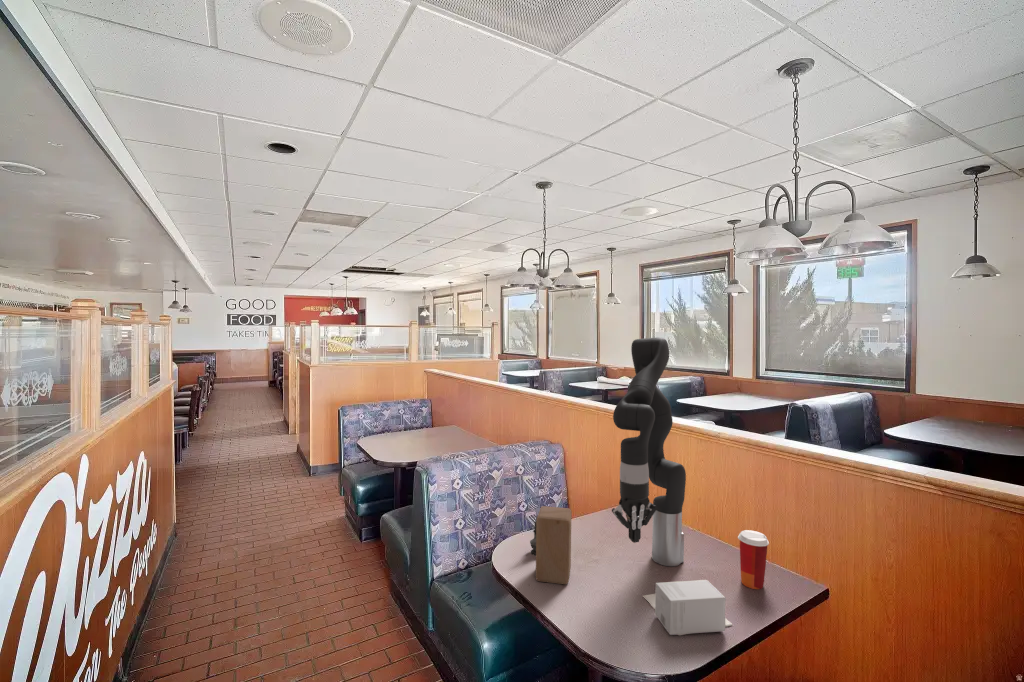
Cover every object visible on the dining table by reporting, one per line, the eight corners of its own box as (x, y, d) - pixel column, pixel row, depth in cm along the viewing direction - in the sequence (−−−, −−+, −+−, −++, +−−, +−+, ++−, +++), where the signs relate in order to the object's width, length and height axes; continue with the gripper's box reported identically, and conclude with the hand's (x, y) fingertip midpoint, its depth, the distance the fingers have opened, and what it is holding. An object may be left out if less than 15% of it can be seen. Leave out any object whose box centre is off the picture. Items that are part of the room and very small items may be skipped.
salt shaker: (528, 548, 160) (529, 514, 160) (545, 548, 161) (545, 514, 160) (530, 556, 154) (531, 521, 154) (548, 556, 155) (548, 521, 155)
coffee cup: (764, 579, 142) (766, 531, 142) (770, 594, 134) (771, 543, 134) (734, 574, 145) (736, 527, 144) (738, 588, 137) (739, 538, 137)
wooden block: (568, 586, 137) (569, 520, 137) (535, 582, 139) (536, 517, 139) (570, 569, 147) (571, 507, 146) (539, 565, 149) (540, 504, 148)
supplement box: (670, 636, 115) (726, 632, 116) (670, 600, 115) (726, 597, 116) (654, 615, 124) (707, 611, 125) (654, 581, 124) (707, 578, 125)
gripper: (647, 470, 128) (648, 531, 129) (605, 476, 125) (605, 538, 125) (664, 479, 121) (664, 543, 122) (619, 485, 117) (619, 551, 118)
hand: (634, 541), depth 124 cm, fingers closed
